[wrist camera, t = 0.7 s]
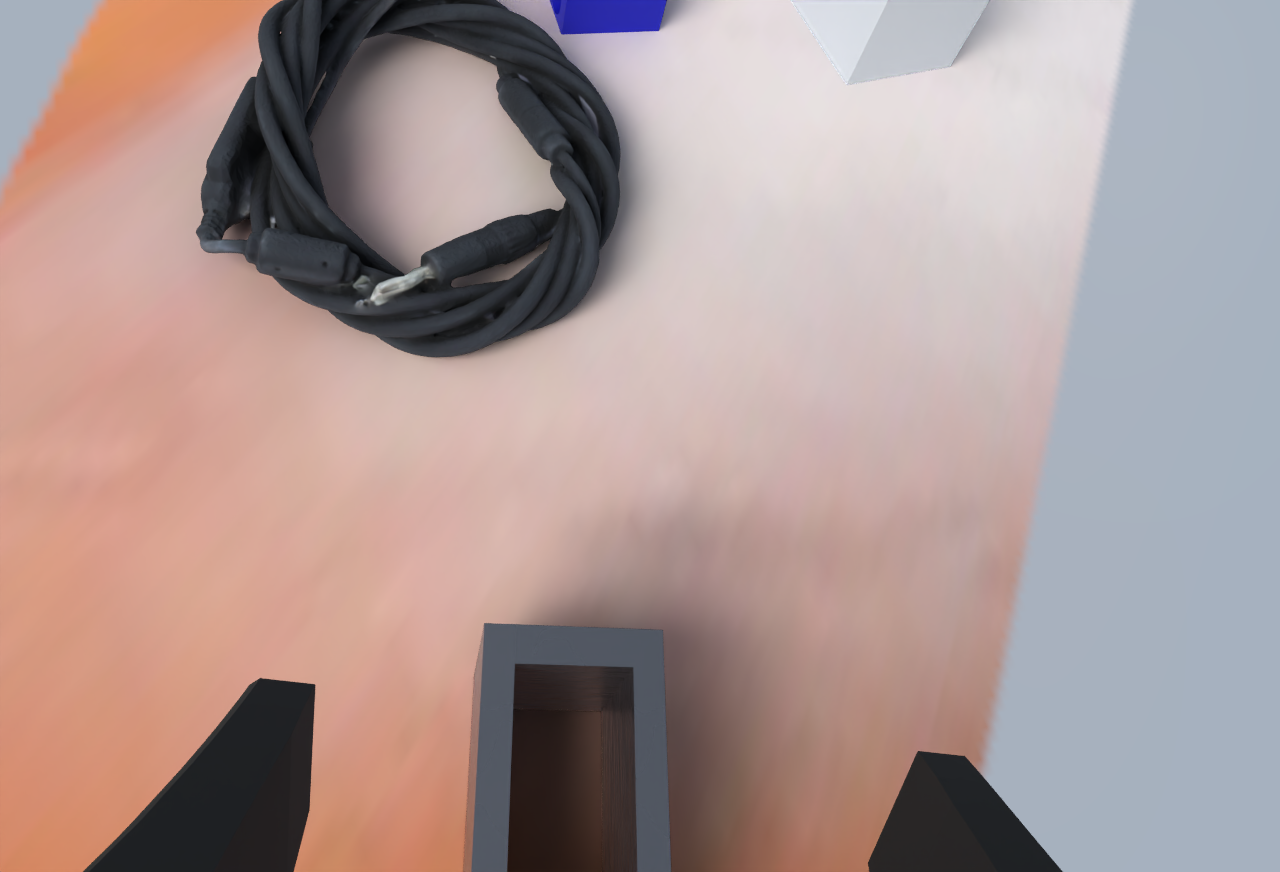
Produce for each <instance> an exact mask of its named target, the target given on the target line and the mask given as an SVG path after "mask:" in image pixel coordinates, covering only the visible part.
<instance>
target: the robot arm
mask: <svg viewBox="0 0 1280 872" xmlns="http://www.w3.org/2000/svg"><path fill="white" fill-rule="evenodd" d="M314 702H315V684H307V683H298V682H289V681H280V680H271V679H262V678H260V679H258V680H257V681H255V682H253V683H252V684H250V685H249V686H248V688H247V689H246V690H245V692H244V693H243V694H242V696H241V697H240V698H239V700H238V701H237V702H236V704H235V705H234V706H233V707H232V709H231V710H230V711H229V712H228V714H227V715H226V716H225V717H224V719H223V720H222V721H221V722H220V724H219V725H218V726H217V727H216V729H215V730H214V731H213V732H212V733H211V735H210V736H209V737H208V738H207V739H206V741H205V742H204V743H203V744H202V745H201V747H200V748H199V749H198V750H197V751H196V752H195V753H194V755H193V756H192V757H191V758H190V759H189V760H188V762H187V763H186V764H185V765H184V766H183V767H182V769H181V770H180V771H179V772H178V773H177V774H176V775H175V776H174V778H173V779H172V780H171V781H170V782H169V783H168V784H167V785H166V786H165V787H164V788H163V789H162V791H161V792H160V793H159V794H158V795H157V796H156V797H155V798H154V799H153V800H152V801H151V802H150V804H149V805H148V806H147V807H146V808H145V809H144V810H143V811H142V812H141V813H140V814H139V815H138V817H137V818H136V819H135V820H134V821H133V822H132V823H131V824H130V825H129V826H128V827H127V828H126V829H125V830H124V831H123V832H122V834H121V835H120V836H119V837H118V838H117V839H116V840H115V841H114V842H113V843H112V844H111V845H110V846H109V847H108V848H107V849H106V850H105V851H104V852H103V853H102V854H101V855H99V856H98V857H97V858H96V859H95V860H94V861H93V862H92V863H91V864H90V865H89V866H88V867H87V868H86V869H85V870H84V871H83V872H294V868H295V864H296V860H297V856H298V852H299V849H300V845H301V841H302V837H303V833H304V829H305V825H306V821H307V817H308V813H309V807H310V786H311V765H312V744H313V723H314ZM868 866H869V872H1062V870H1061V869H1060V868H1059V867H1058V866H1057V865H1056V863H1055V862H1054V861H1053V860H1052V859H1051V857H1050V856H1049V855H1048V854H1047V853H1046V852H1045V850H1044V849H1043V848H1042V847H1041V846H1040V844H1039V843H1038V842H1037V841H1036V840H1035V838H1034V837H1033V836H1032V835H1031V834H1030V832H1029V831H1028V830H1027V829H1026V828H1025V826H1024V825H1023V824H1022V823H1021V822H1020V821H1019V819H1018V818H1017V817H1016V816H1015V814H1014V813H1013V812H1012V811H1011V810H1010V808H1008V806H1007V805H1006V804H1005V802H1004V801H1003V800H1002V799H1001V798H1000V797H999V795H998V794H997V793H996V792H995V791H994V789H993V788H992V787H991V786H990V785H989V783H988V782H987V781H986V780H985V779H984V778H983V776H982V775H981V774H980V773H979V772H978V771H977V769H976V768H975V767H974V766H973V765H972V764H971V763H970V761H969V760H968V759H967V758H966V757H965V756H958V755H949V754H940V753H931V752H922V751H918V752H917V754H916V756H915V759H914V761H913V763H912V765H911V768H910V770H909V772H908V774H907V777H906V779H905V781H904V783H903V786H902V788H901V790H900V792H899V795H898V797H897V799H896V801H895V804H894V806H893V808H892V810H891V813H890V815H889V817H888V819H887V821H886V824H885V826H884V828H883V830H882V833H881V835H880V837H879V839H878V842H877V844H876V846H875V848H874V851H873V853H872V855H871V857H870V860H869V862H868Z"/></svg>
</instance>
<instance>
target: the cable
mask: <svg viewBox="0 0 1280 872" xmlns="http://www.w3.org/2000/svg"><path fill="white" fill-rule="evenodd" d="M280 32H281V34H280ZM384 33H391V34H401V35H407V36H412V37H417V38H421V39H425V40H430V41H434V42H437V43H441V44H444V45H447V46H451V47H453V48H456V49H458V50H461V51H464V52H467V53H470V54H472V55H475V56H477V57H479V58H482V59H484V60H487V61H489V62H491V63H493V64H495V65H496V66H497V71H498V74H499V77H500V78H499V79H498V81H497V84H496V89H497V91H498V93H499V95H498V98H499V102H500V104H501V105H502V107H503V109H504V110H505V111H506V112H507V114H508V115H509V116H510V118H511V119H512V121H513V122H514V123H515V124H516V125H517V127H518V128H519V129H520V130H521V132H522V133H523V134H524V136H525V138H526V139H527V140H528V142H529V143H530V144H531V145H532V147H533V148H534V150H535V151H536V152H537V154H538V155H539V156H540V157H542V158H543V159H545V160H549V161H550V162H551V169H550V174H551V177H552V179H553V182H554V183H555V185H556V187H557V188H558V189H559V190H560V192H561V193H562V195H563V196H564V197H565V199H566V201H565V204H564V208H563V209H561V210H559V211H555V210H552V209H545V210H542V211H538V212H535V213H532V214H529V215H516V216H511V217H507V218H504V219H501V220H497V221H494V222H492V223H490V224H488V225H487V226H485V227H484V228H482V229H479V230H477V231H474V232H472V233H469V234H466V235H463V236H460V237H458V238H455V239H453V240H452V241H449V242H446V243H444V244H443V245H441V246H439V247H436V248H434V249H432V250H430V251H428V252H425V253H424V254H423V255H422V257H421V267H419V268H415V269H413V270H412V271H411V272H410V273H408V274H407V275H404V274H403V273H402V272H400V271H399V270H398V269H396V268H395V267H394V266H392V265H391V264H390V263H389V262H388V261H386V260H385V259H383V258H382V257H381V256H380V255H378V254H377V253H376V252H375V251H374V250H372V249H371V248H370V247H369V246H367V245H366V244H365V243H364V242H363V240H361V239H360V238H359V237H358V236H357V235H356V234H355V233H354V232H353V231H352V230H350V229H349V228H348V227H347V226H346V225H345V223H343V222H342V221H341V220H340V219H339V218H338V217H337V216H336V215H335V214H334V213H333V211H332V210H331V209H330V208H329V207H328V204H327V201H326V197H325V194H324V190H323V186H322V183H321V178H320V175H319V171H318V168H317V164H316V161H315V158H314V155H313V150H312V147H313V144H312V142H311V140H310V139H309V137H310V135H311V132H312V129H313V127H314V125H315V123H316V121H317V119H318V117H319V115H320V113H321V111H322V109H323V107H324V105H325V104H326V102H327V100H328V98H329V97H330V95H331V93H332V91H333V89H334V87H335V85H336V83H337V81H338V79H339V78H340V76H341V74H342V72H343V70H344V68H345V67H346V65H347V64H348V62H349V60H350V58H351V57H352V56H353V54H354V53H355V51H356V50H357V48H358V47H359V45H360V44H361V42H362V41H363V40H364V39H366V38H370V37H373V36H376V35H380V34H384ZM258 41H259V48H260V53H261V57H262V62H261V65H260V67H259V70H258V73H257V77H251V78H250V79H249V81H248V82H247V83H246V85H245V87H244V89H243V91H242V93H241V95H240V97H239V99H238V100H237V102H236V104H235V106H234V108H233V110H232V112H231V114H230V116H229V118H228V120H227V122H226V124H225V127H224V128H223V130H222V132H221V134H220V136H219V138H218V140H217V142H216V144H215V146H214V148H213V150H212V152H211V154H210V156H209V158H208V160H207V164H206V168H207V174H206V176H205V179H204V181H203V184H202V188H201V200H202V208H203V212H204V216H203V218H202V221H201V225H200V226H199V227H198V229H197V230H196V234H197V236H198V237H199V239H200V245H201V248H202V249H203V250H204V251H206V252H208V253H241V254H243V255H245V258H246V260H247V261H248V262H249V263H253V264H255V265H256V268H257V270H258V271H259V272H260V273H262V274H266V275H270V276H273V278H274V279H275V280H276V281H277V282H278V283H279V284H280V285H281V286H282V287H283V288H285V289H286V290H287V291H289V292H290V293H291V294H293V295H294V296H296V297H298V298H299V299H301V300H303V301H305V302H307V303H309V304H311V305H314V306H317V307H319V308H322V309H326V310H328V311H329V312H330V313H331V314H333V315H334V316H335V317H336V318H337V319H339V320H340V321H342V322H343V323H345V324H347V325H348V326H350V327H353V328H355V329H357V330H359V331H362V332H366V333H369V334H373V335H376V336H377V337H379V338H380V339H381V340H383V341H384V342H386V343H388V344H389V345H391V346H393V347H395V348H397V349H399V350H402V351H404V352H407V353H411V354H415V355H420V356H427V357H452V356H457V355H463V354H467V353H470V352H473V351H476V350H479V349H481V348H484V347H486V346H488V345H490V344H492V343H494V342H498V341H502V340H506V339H510V338H513V337H516V336H518V335H520V334H522V333H524V332H526V331H528V330H534V329H538V328H541V327H543V326H546V325H548V324H551V323H553V322H555V321H557V320H559V319H560V318H562V317H563V316H565V315H566V314H567V313H569V312H570V311H571V310H572V309H573V308H574V307H575V306H577V305H578V303H579V302H580V301H581V300H582V299H583V297H584V296H585V295H586V293H587V292H588V290H589V289H590V287H591V285H592V282H593V280H594V277H595V274H596V271H597V267H598V263H599V250H600V249H601V248H602V246H603V245H604V243H605V242H606V240H607V239H608V237H609V235H610V232H611V230H612V228H613V226H614V223H615V219H616V216H617V211H618V207H619V199H620V189H619V180H618V172H619V166H620V145H619V137H618V133H617V129H616V126H615V123H614V120H613V118H612V116H611V114H610V112H609V110H608V108H607V107H606V105H605V103H604V102H603V100H602V98H601V96H600V95H599V93H598V92H597V90H596V89H595V87H594V86H593V85H592V83H591V82H590V81H589V80H588V79H587V77H586V76H585V75H584V74H583V73H582V72H581V71H580V70H579V69H578V68H577V67H576V66H574V65H573V64H572V63H571V62H570V61H568V60H567V58H566V57H565V55H564V54H563V52H562V51H561V49H560V48H559V46H558V45H557V44H556V43H555V41H554V40H553V39H552V38H551V37H550V36H549V35H548V34H547V33H546V32H545V31H544V30H543V29H541V28H540V27H539V26H537V25H536V24H534V23H533V22H531V21H530V20H528V19H526V18H525V17H523V16H521V15H519V14H516V13H514V12H511V11H509V10H508V9H507V8H506V7H505V6H503V5H502V4H501V3H499V2H498V1H496V0H283V1H280V2H279V3H277V4H276V5H274V6H273V7H272V8H271V9H269V10H268V12H267V13H266V14H265V16H264V17H263V19H262V21H261V23H260V27H259V33H258ZM325 71H326V76H325V78H324V80H323V82H322V84H321V87H320V89H319V90H318V92H317V94H316V96H315V98H314V101H313V103H312V105H311V107H310V108H309V110H308V111H307V108H308V105H309V101H310V99H311V97H312V95H313V93H314V91H315V89H316V87H317V85H318V83H319V82H320V80H321V78H322V76H323V74H324V73H325ZM244 219H250V220H251V228H252V233H251V234H250V236H249V238H248V240H227V239H223V240H222V238H223V235H224V233H225V231H226V230H227V229H228V228H229V227H231V226H232V225H233V224H237V223H240V222H242V221H243V220H244ZM551 238H552V239H551ZM549 239H551V241H550V243H549V245H548V248H547V250H545V251H544V252H543V253H542V254H540V255H539V256H538V257H537V258H536V259H534V260H533V261H532V262H531V263H530V264H529V265H527V266H526V267H525V268H524V269H522V270H521V271H520V272H519V273H518V274H516V275H515V276H514V277H512V278H511V279H509V280H503V281H497V282H490V283H484V284H475V285H470V286H465V287H457V288H453V287H452V286H451V282H452V280H454V279H455V278H458V277H461V276H465V275H469V274H472V273H475V272H478V271H481V270H484V269H487V268H489V267H493V266H496V265H499V264H507V263H510V262H512V261H514V260H516V259H517V258H519V257H521V256H523V255H525V254H527V253H529V252H531V251H533V250H534V249H535V248H536V246H537V245H539V244H541V243H543V242H545V241H547V240H549Z"/></svg>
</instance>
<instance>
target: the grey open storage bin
mask: <svg viewBox="0 0 1280 872" xmlns="http://www.w3.org/2000/svg"><path fill="white" fill-rule="evenodd" d="M513 709H528V710H574V711H601V742H602V872H671V855H670V826H669V796H668V767H667V738H666V709H665V679H664V650H663V630H651V629H624V628H598V627H571V626H544V625H518V624H491V623H484V628H483V633H482V638H481V643H480V648H479V653H478V658H477V663H476V668H475V673H474V688H473V705H472V723H471V740H470V758H469V776H468V793H467V811H466V828H465V846H464V864H463V872H507V859H508V833H509V806H510V779H511V753H512V726H513Z"/></svg>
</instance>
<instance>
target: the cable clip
mask: <svg viewBox="0 0 1280 872" xmlns="http://www.w3.org/2000/svg"><path fill="white" fill-rule="evenodd" d="M666 1H667V0H550V2H551V5H552V8H553V11H554V14H555V17H556V20H557V23H558V26H559V29H560V32H561V34H587V33H615V32H642V31H659V28H660V24H661V20H662V16H663V13H664V9H665V5H666Z"/></svg>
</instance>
